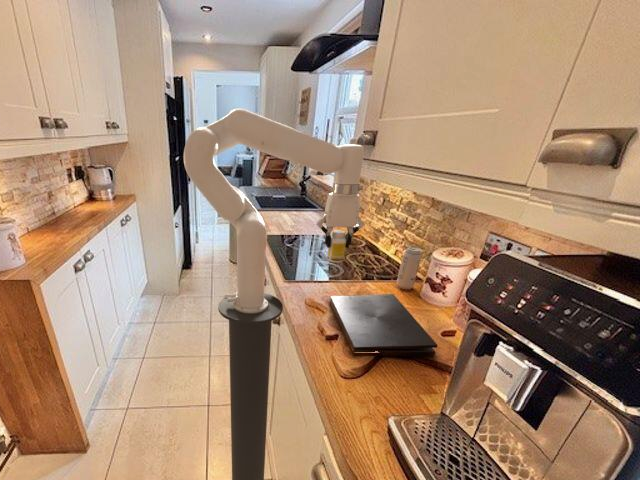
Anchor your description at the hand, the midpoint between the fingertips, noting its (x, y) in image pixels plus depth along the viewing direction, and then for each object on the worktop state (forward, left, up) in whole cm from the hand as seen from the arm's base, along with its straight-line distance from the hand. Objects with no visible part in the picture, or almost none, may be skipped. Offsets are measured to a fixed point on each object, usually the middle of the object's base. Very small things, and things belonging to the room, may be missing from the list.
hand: (337, 246), depth 107 cm
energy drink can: (+31, +11, -19) cm, 38 cm away
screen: (+10, -19, -17) cm, 27 cm away
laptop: (+10, -19, -19) cm, 29 cm away
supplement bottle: (0, 0, -5) cm, 5 cm away
